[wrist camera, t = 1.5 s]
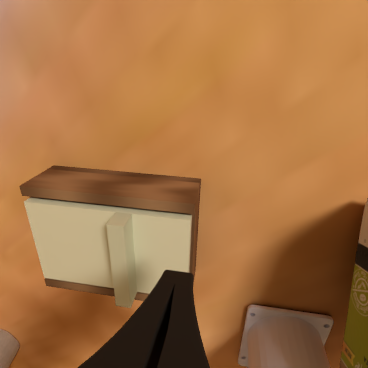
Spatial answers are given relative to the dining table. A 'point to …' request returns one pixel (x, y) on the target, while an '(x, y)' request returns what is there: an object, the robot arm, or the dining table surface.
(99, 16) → the dining table surface
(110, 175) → the walnut box
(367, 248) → the tea box
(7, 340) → the house plant
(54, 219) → the cover plate
